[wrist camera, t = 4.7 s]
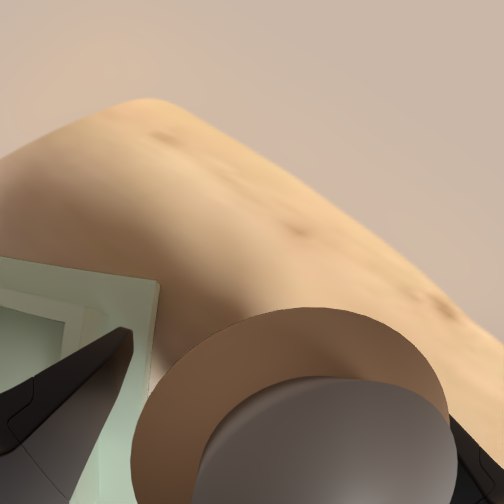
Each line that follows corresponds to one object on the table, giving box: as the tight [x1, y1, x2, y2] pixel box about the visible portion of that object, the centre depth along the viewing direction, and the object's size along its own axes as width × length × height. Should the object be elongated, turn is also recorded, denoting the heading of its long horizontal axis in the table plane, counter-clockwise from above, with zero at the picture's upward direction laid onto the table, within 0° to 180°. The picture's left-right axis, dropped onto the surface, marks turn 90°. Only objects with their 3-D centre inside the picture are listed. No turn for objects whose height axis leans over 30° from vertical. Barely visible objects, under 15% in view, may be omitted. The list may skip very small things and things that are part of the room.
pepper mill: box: [130, 307, 458, 504], centre depth 8 cm, size 5×5×13 cm
